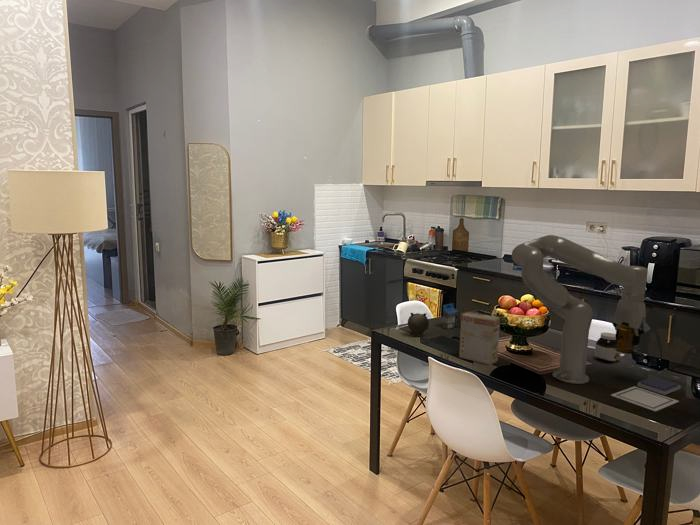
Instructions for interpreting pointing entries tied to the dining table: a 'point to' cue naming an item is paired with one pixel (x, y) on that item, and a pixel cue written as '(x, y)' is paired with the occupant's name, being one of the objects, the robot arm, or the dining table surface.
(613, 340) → the spread jar
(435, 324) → the dining table surface
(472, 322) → the coffeecake box
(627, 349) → the condiment
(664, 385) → the ink pad
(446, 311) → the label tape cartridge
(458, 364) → the dining table surface
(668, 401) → the marked sheet
